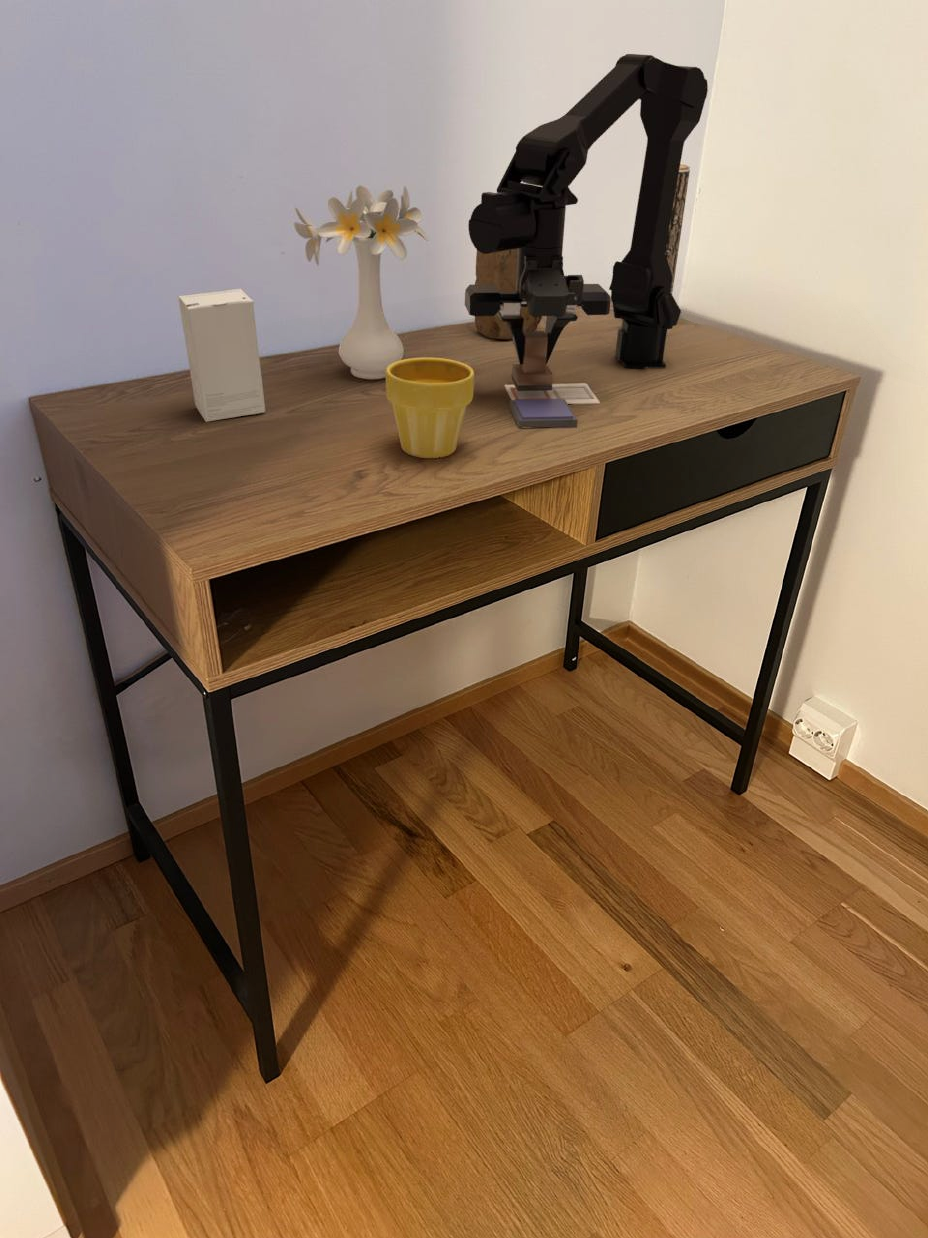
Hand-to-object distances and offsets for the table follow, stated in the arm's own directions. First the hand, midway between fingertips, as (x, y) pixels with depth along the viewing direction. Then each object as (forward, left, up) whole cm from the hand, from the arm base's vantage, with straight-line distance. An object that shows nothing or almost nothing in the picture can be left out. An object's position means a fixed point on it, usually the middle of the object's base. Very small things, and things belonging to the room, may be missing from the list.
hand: (532, 363), depth 130 cm
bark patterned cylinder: (-28, -36, -5) cm, 46 cm away
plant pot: (+16, +18, -5) cm, 25 cm away
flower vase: (+22, -10, -5) cm, 25 cm away
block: (-2, -30, -5) cm, 30 cm away
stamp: (0, 0, -3) cm, 3 cm away
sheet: (-3, 0, -4) cm, 5 cm away
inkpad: (0, +9, -4) cm, 10 cm away
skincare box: (+41, +4, -5) cm, 42 cm away
